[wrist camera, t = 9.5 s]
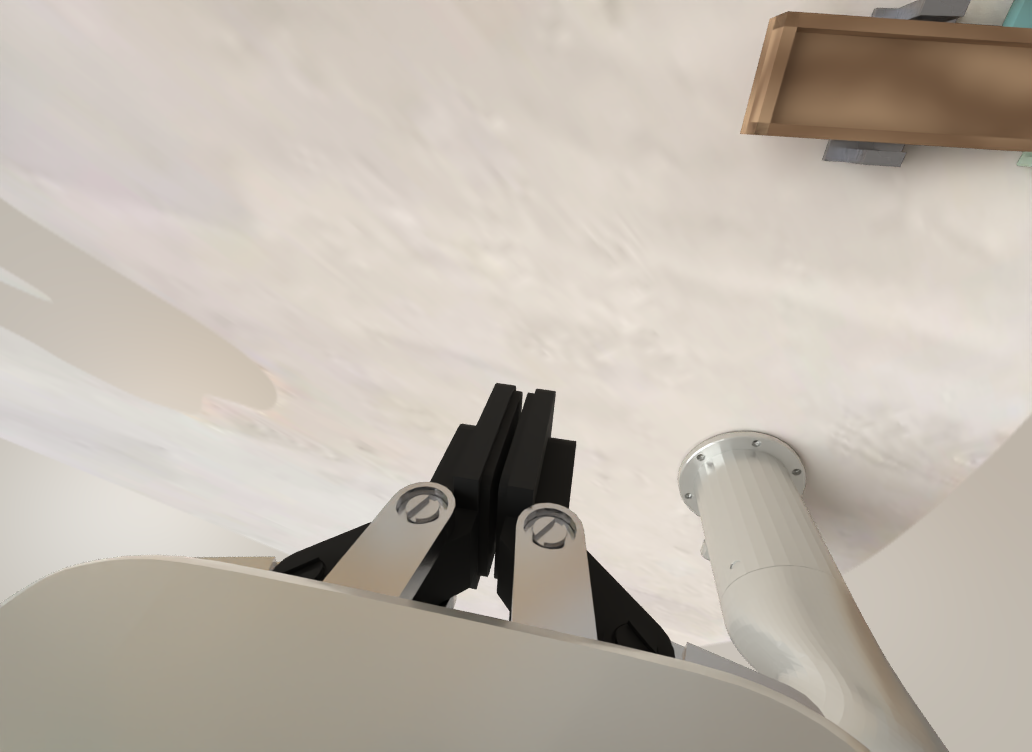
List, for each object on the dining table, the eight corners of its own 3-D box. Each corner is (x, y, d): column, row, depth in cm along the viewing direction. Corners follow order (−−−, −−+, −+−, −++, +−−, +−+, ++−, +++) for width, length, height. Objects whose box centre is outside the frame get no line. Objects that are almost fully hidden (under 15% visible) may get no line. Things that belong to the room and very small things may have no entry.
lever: (1018, 151, 32) (1049, 152, 30) (740, 133, 32) (754, 134, 30) (1115, -34, 27) (1161, -46, 26) (789, -58, 27) (810, -72, 25)
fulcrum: (893, 164, 34) (920, 168, 31) (822, 160, 35) (842, 163, 32) (956, 11, 30) (996, -3, 27) (874, 9, 31) (903, -5, 28)
